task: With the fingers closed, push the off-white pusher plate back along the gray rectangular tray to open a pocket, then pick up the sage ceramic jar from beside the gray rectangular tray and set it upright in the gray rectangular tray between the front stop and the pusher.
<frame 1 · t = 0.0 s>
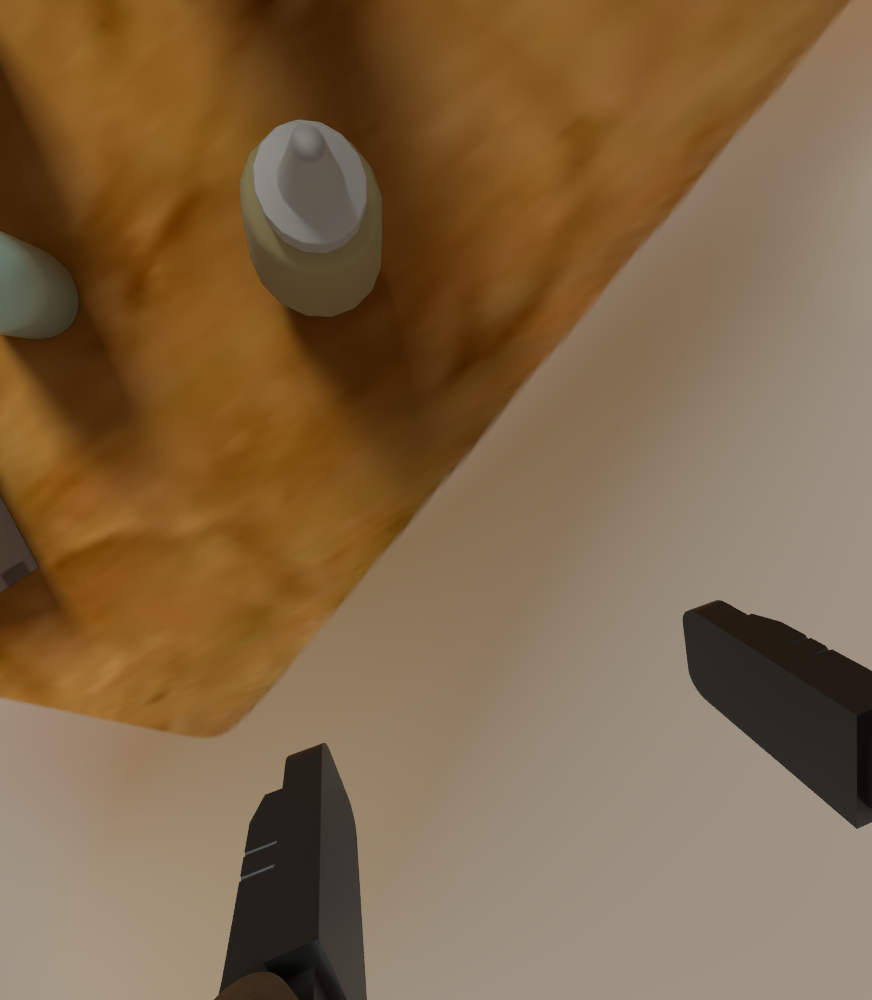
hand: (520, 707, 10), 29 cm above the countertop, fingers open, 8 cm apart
jar: (27, 292, 31), on the countertop
squeeze bottle: (318, 262, 34), on the countertop
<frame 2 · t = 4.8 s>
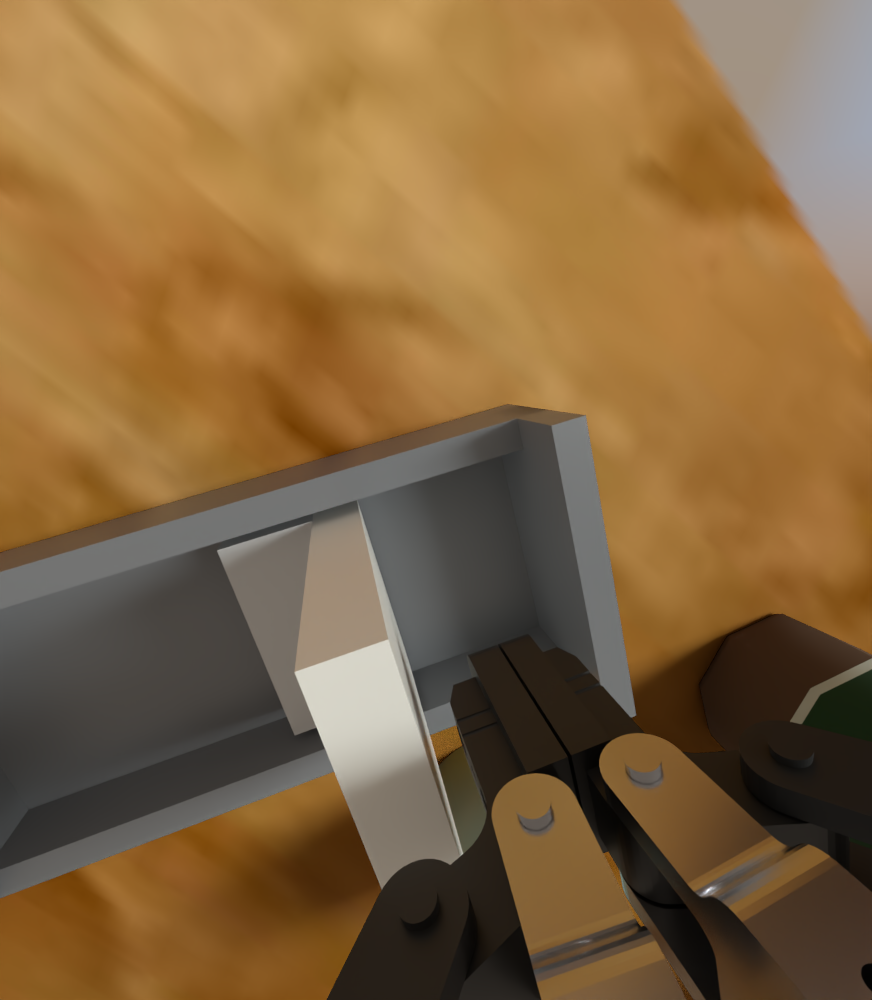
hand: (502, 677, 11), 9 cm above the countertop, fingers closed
pusher: (324, 686, 13), point 6 cm above the countertop, slide at 0.3 cm, touching gripper
gray rectangular tray: (268, 610, 19), on the countertop
jar: (484, 789, 23), on the countertop
beer bottle: (756, 676, 25), on the countertop
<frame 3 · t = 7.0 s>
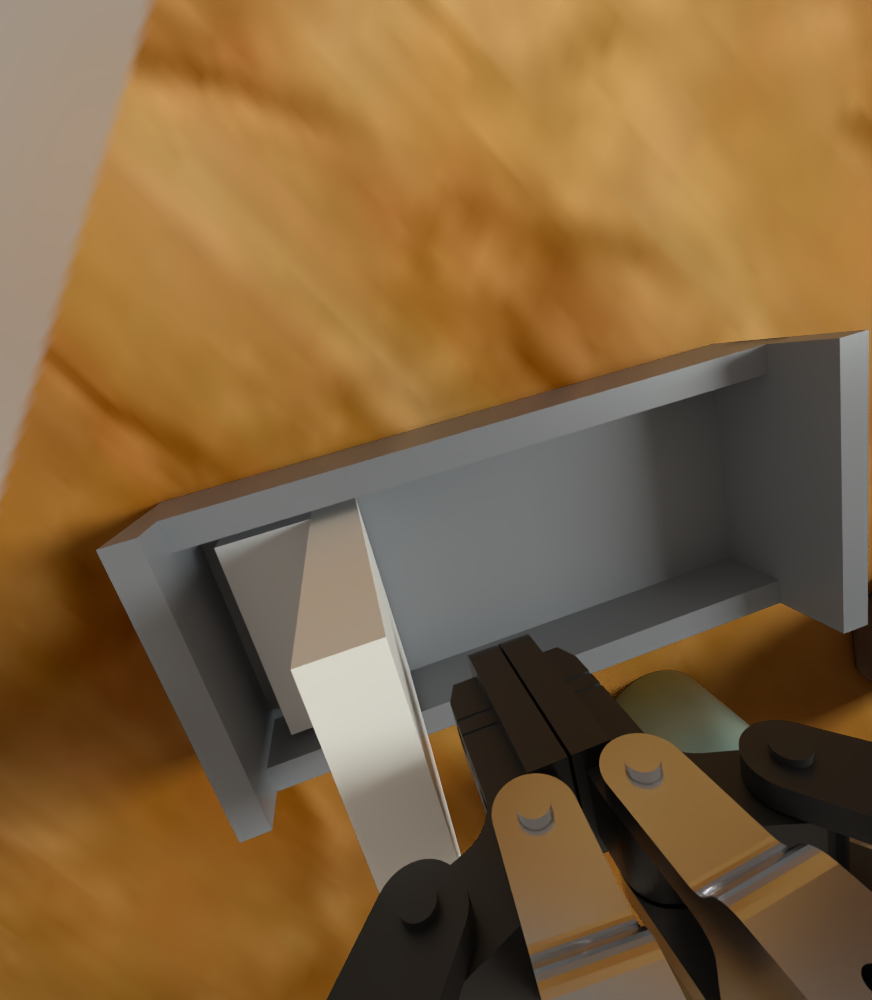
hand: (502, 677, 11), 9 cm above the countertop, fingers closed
pusher: (321, 685, 13), point 6 cm above the countertop, slide at 9.3 cm, touching gripper
gray rectangular tray: (488, 537, 20), on the countertop
jar: (655, 721, 24), on the countertop
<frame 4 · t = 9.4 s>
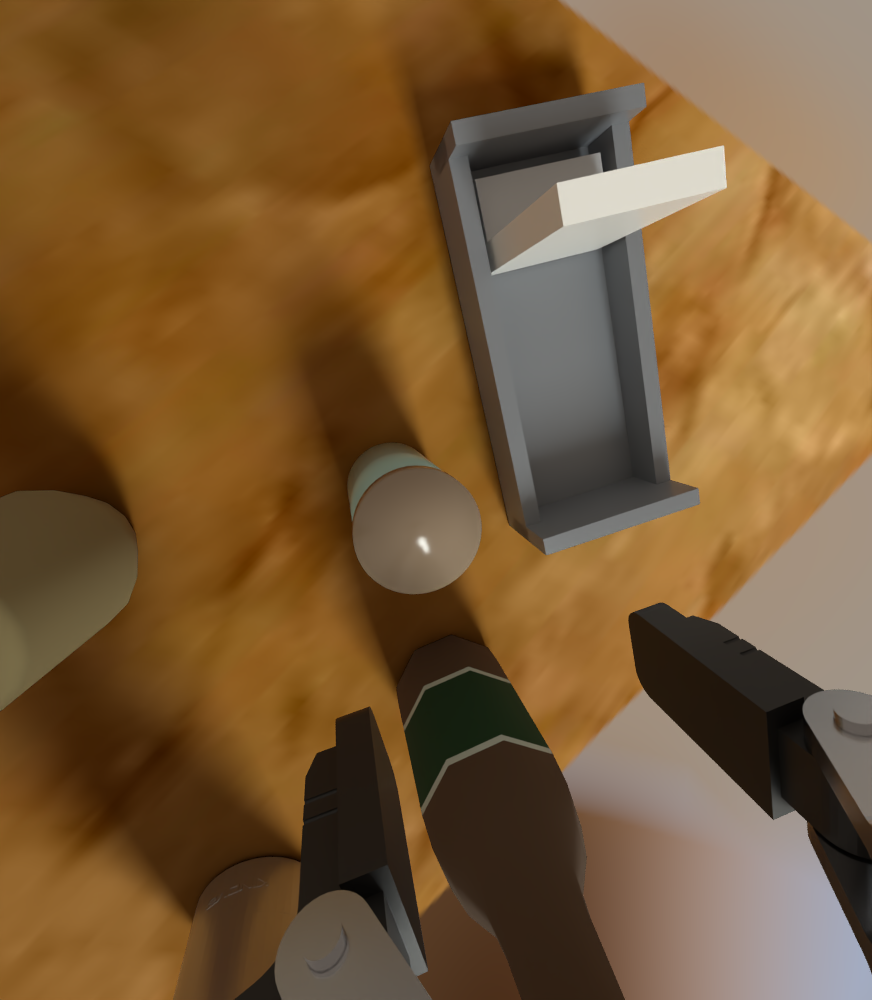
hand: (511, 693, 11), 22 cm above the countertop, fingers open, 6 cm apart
pusher: (576, 189, 23), point 6 cm above the countertop, slide at 9.3 cm
gray rectangular tray: (547, 343, 31), on the countertop
jar: (391, 486, 31), on the countertop
squeeze bottle: (84, 542, 29), on the countertop
beer bottle: (447, 678, 36), on the countertop
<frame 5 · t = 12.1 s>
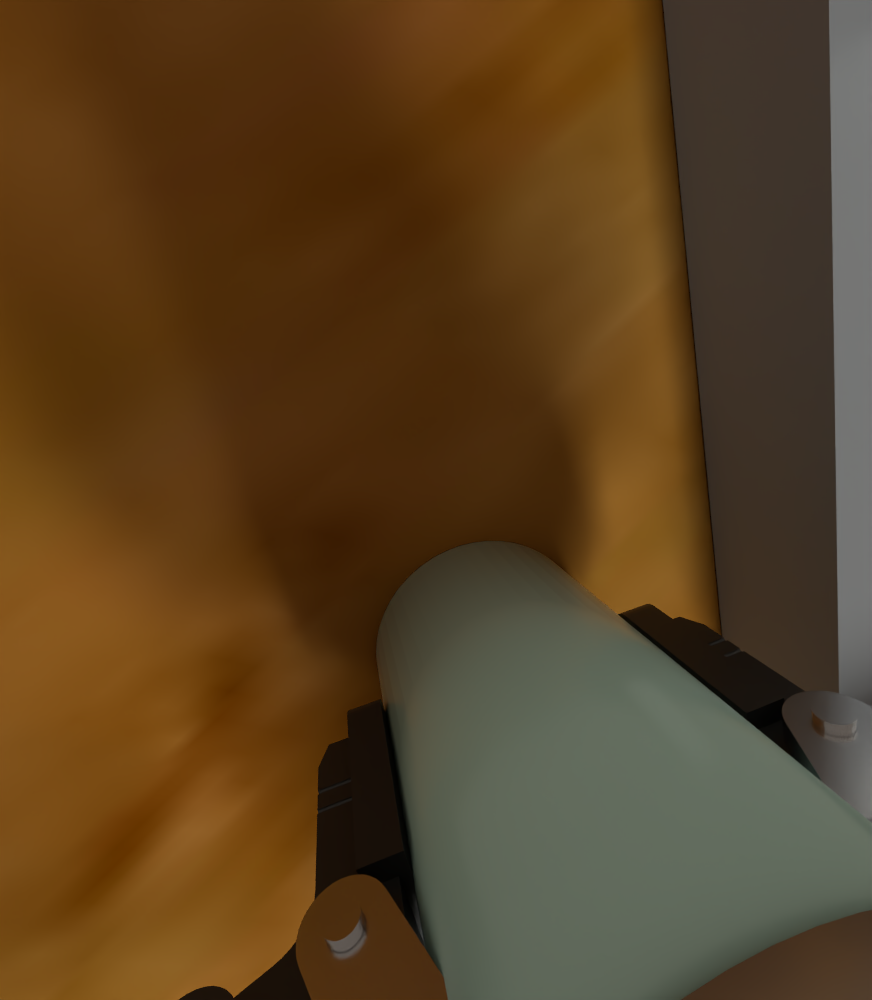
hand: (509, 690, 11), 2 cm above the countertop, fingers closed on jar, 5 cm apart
gray rectangular tray: (863, 296, 13), on the countertop
jar: (483, 642, 13), on the countertop, touching gripper
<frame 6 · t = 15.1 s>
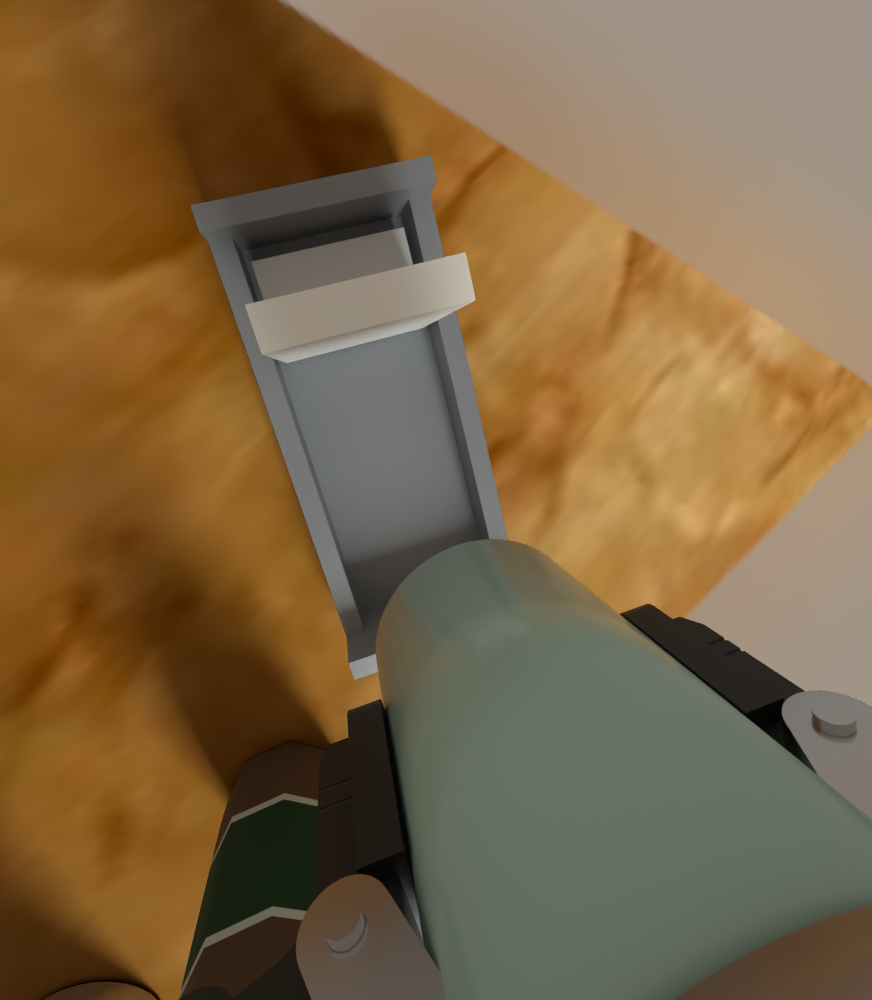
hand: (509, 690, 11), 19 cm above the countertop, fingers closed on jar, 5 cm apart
pusher: (346, 281, 20), point 6 cm above the countertop, slide at 9.3 cm
gray rectangular tray: (378, 428, 28), on the countertop
jar: (482, 641, 13), point 17 cm above the countertop, touching gripper
beer bottle: (291, 785, 32), on the countertop
when the fingers open (4 cm above the countertop, at t = 18.2 s): jar drops 1 cm, resting on gray rectangular tray.
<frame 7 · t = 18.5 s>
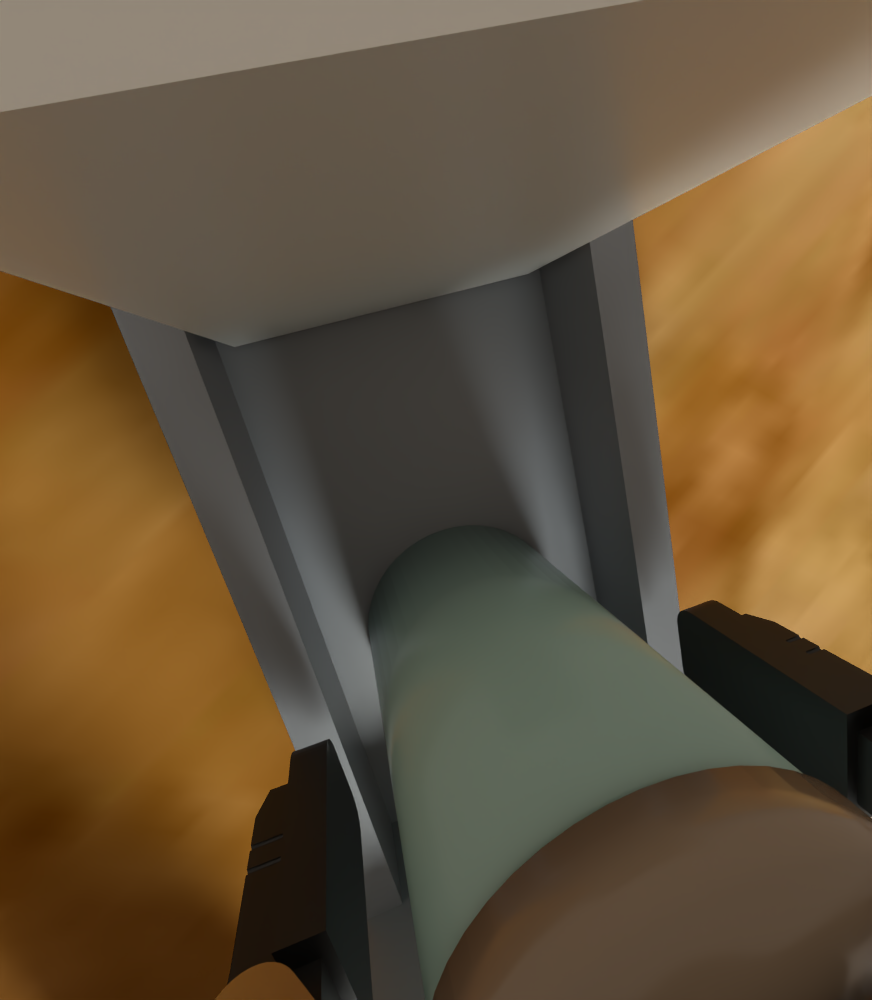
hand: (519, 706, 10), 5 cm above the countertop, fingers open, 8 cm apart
pusher: (384, 71, 6), point 6 cm above the countertop, slide at 9.3 cm
gray rectangular tray: (426, 480, 14), on the countertop
jar: (465, 618, 14), point 1 cm above the countertop, touching gray rectangular tray
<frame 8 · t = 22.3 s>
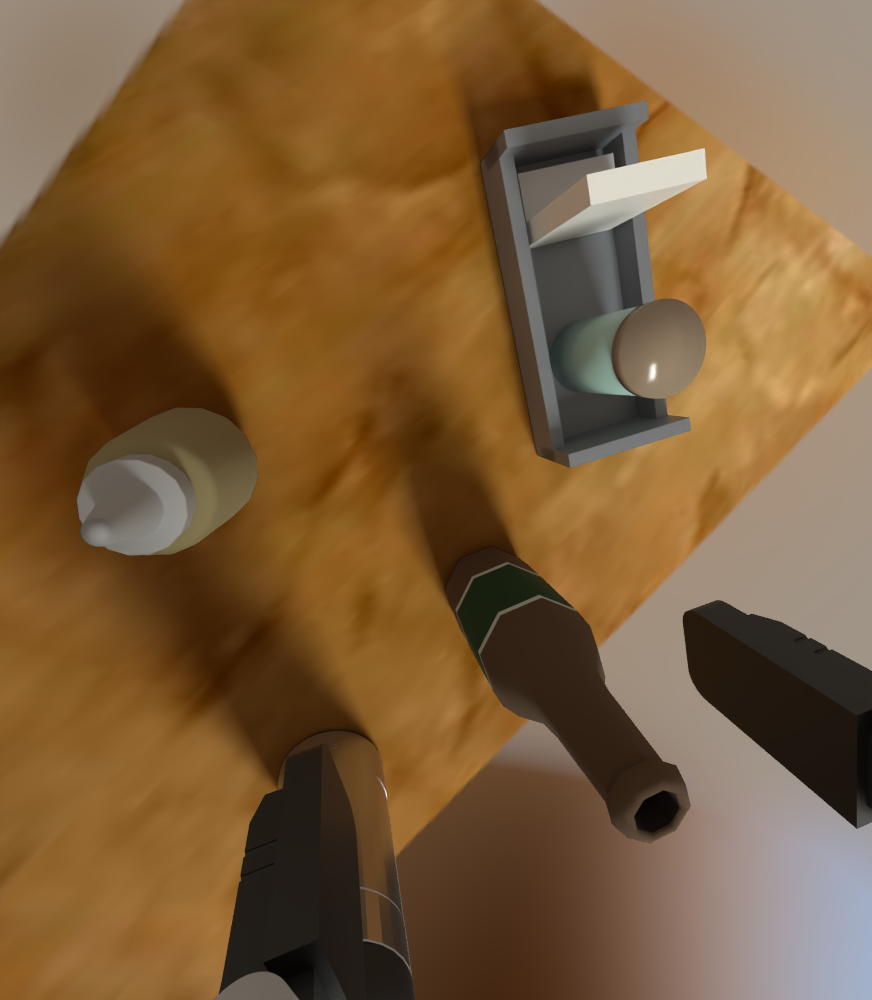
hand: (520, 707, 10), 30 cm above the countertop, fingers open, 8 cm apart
pusher: (596, 180, 31), point 6 cm above the countertop, slide at 9.3 cm
gray rectangular tray: (569, 306, 39), on the countertop
jar: (582, 356, 39), point 1 cm above the countertop, touching gray rectangular tray
squeeze bottle: (207, 459, 36), on the countertop
beer bottle: (484, 584, 44), on the countertop
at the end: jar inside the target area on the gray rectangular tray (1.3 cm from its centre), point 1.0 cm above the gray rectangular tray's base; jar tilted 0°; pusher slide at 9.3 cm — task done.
